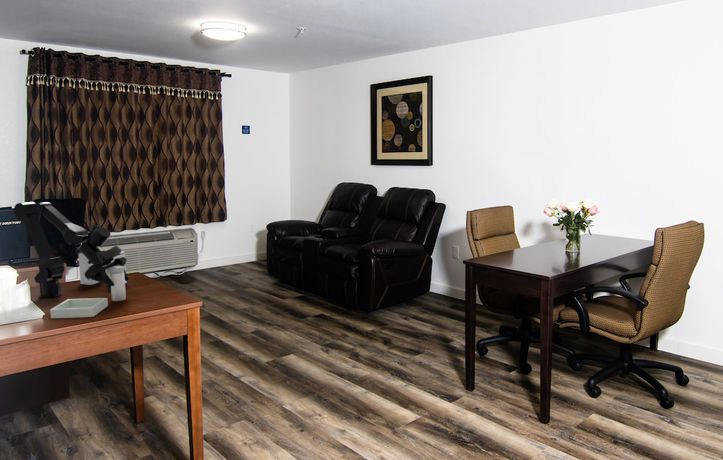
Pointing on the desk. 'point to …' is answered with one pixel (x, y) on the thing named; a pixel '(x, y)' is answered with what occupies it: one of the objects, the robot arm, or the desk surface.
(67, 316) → the tray
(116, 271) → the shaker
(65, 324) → the desk surface
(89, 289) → the desk surface
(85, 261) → the skincare box
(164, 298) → the desk surface
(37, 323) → the desk surface
